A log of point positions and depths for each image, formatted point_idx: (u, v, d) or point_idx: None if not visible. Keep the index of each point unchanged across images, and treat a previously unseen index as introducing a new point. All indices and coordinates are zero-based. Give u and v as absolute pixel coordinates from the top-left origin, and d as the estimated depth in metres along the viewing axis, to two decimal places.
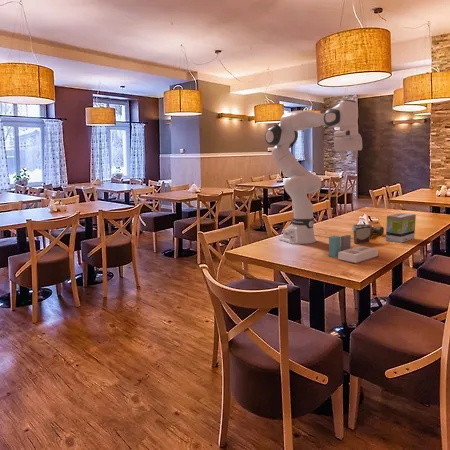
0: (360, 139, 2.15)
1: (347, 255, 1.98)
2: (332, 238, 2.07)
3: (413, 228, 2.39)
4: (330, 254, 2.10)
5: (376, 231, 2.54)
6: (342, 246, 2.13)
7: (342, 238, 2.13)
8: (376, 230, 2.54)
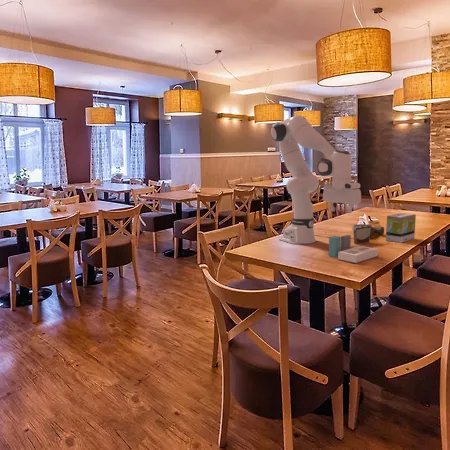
0: None
1: (347, 255, 1.98)
2: (332, 238, 2.07)
3: (413, 228, 2.39)
4: (330, 254, 2.10)
5: (377, 231, 2.54)
6: (342, 246, 2.13)
7: (342, 238, 2.13)
8: (377, 230, 2.54)
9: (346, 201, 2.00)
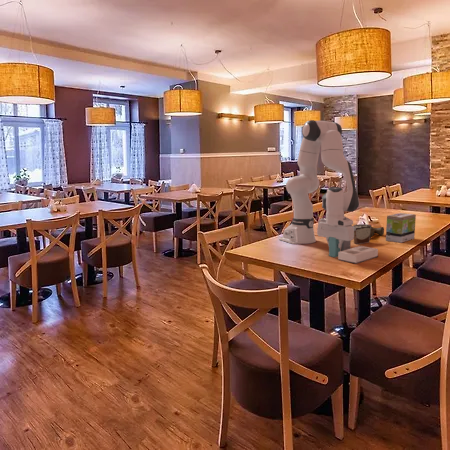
0: None
1: (347, 255, 1.98)
2: (332, 238, 2.07)
3: (413, 228, 2.39)
4: (330, 254, 2.10)
5: (376, 231, 2.53)
6: (342, 246, 2.13)
7: None
8: (376, 230, 2.53)
9: (339, 237, 2.04)
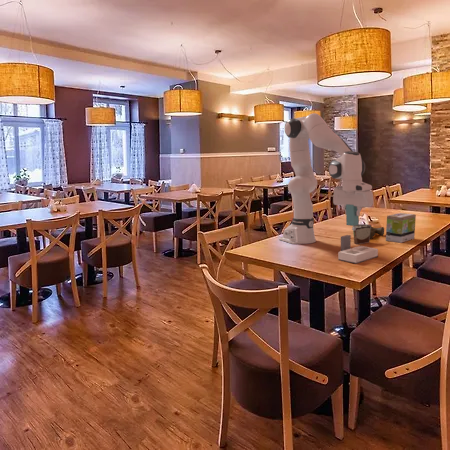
0: None
1: (347, 255, 1.98)
2: (350, 205, 1.95)
3: (413, 228, 2.39)
4: (348, 223, 1.98)
5: (377, 231, 2.53)
6: (342, 246, 2.13)
7: (342, 238, 2.13)
8: (377, 230, 2.53)
9: (358, 204, 1.92)
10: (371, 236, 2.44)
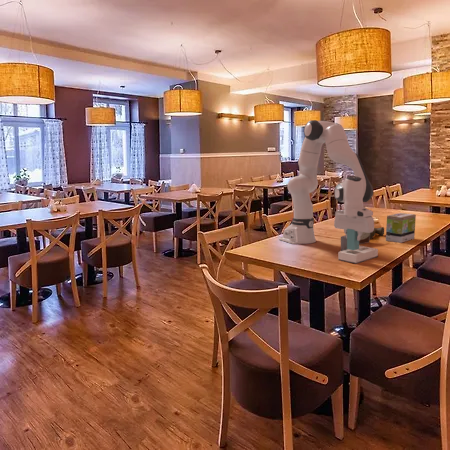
0: None
1: (347, 255, 1.98)
2: (350, 230, 1.97)
3: (413, 228, 2.39)
4: (348, 247, 2.00)
5: (377, 231, 2.53)
6: (342, 246, 2.13)
7: (342, 238, 2.13)
8: (377, 230, 2.53)
9: (358, 229, 1.94)
10: (371, 236, 2.44)
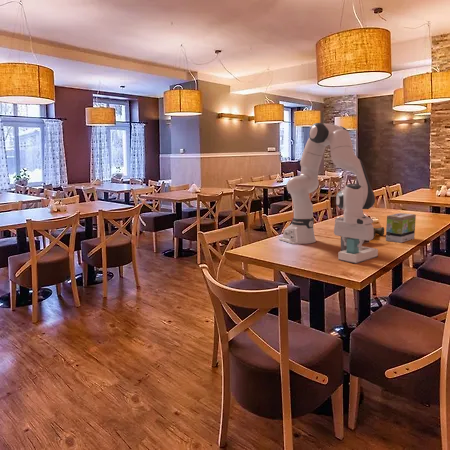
0: None
1: (347, 255, 1.98)
2: (350, 240, 1.98)
3: (413, 228, 2.39)
4: None
5: (377, 231, 2.53)
6: (342, 246, 2.13)
7: None
8: (377, 230, 2.53)
9: (358, 236, 1.95)
10: None
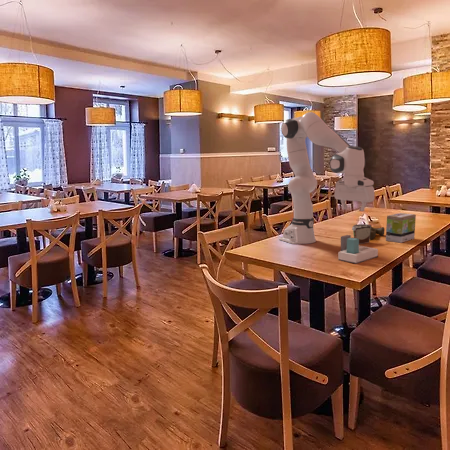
0: None
1: (347, 255, 1.98)
2: (350, 240, 1.98)
3: (413, 228, 2.39)
4: None
5: (377, 231, 2.52)
6: (342, 246, 2.13)
7: (342, 238, 2.13)
8: (377, 230, 2.52)
9: (359, 199, 1.93)
10: (373, 236, 2.43)
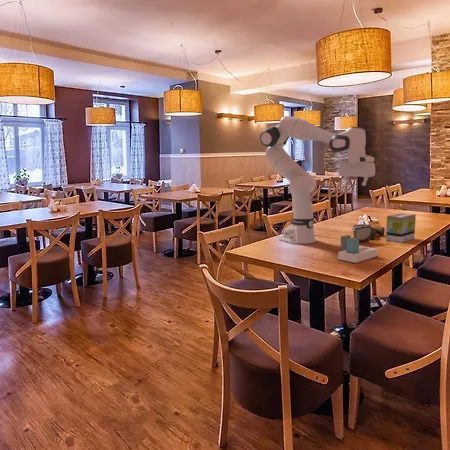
0: None
1: (347, 255, 1.98)
2: (350, 240, 1.98)
3: (413, 228, 2.39)
4: None
5: (378, 232, 2.52)
6: (342, 246, 2.13)
7: (342, 238, 2.13)
8: (378, 231, 2.52)
9: (361, 174, 2.12)
10: (373, 236, 2.42)
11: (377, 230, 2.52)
